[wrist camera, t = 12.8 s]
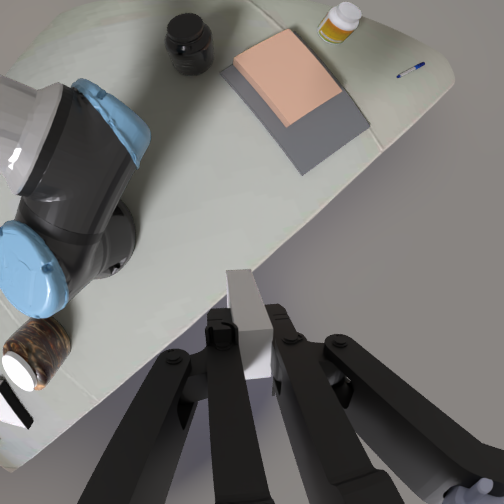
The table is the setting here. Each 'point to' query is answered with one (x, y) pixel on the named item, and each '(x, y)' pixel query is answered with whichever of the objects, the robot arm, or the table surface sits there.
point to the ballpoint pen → (411, 69)
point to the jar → (35, 353)
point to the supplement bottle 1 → (189, 44)
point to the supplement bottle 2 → (339, 23)
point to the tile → (286, 76)
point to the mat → (305, 121)
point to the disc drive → (12, 408)
